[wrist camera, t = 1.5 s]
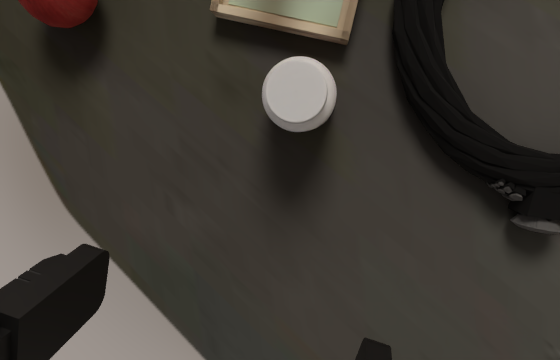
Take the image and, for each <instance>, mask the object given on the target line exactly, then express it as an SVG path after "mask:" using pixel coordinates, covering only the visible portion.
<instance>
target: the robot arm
mask: <svg viewBox="0 0 560 360" xmlns="http://www.w3.org/2000/svg"><path fill="white" fill-rule="evenodd" d="M108 265H109V252H108V251H106V250H103V249H100V248H97V247H94V246H91V245H87V244H82V245H80V246H79V247H77V248H76V249H75V250H73V251H72V252H71V253H69V254H68V255H64V254H59V255H56V256H53V257H50V258H47V259H44V260H42V261H41V262H39V263H38V264H36V265H35V266H33V267H32V268H30V270H29V271H26V272H24V273H23V274H21V275H20V276H19V277H18V279H14V280H13V281H11V282H10V283H8V284H7V285H5V286H4V287H2V288H1V289H0V360H49V359H50V358H51V357H52V356H53V355H54V354H55V353H56V352H57V351H58V350H59V349H60V348H61V347H62V346H63V345H64V344H65V343H66V342H67V341H68V340H69V339H70V338H71V337H72V336H73V335H74V334H75V333H76V332H77V331H78V330H79V329H80V328H81V327H82V326H83V325H84V324H85V323H86V322H87V321H88V320H89V319H90V318H91V317H92V316H93V315H94V314H95V313H96V311H97V310H98V309H99V307H100V305H101V303H102V301H103V298H104V295H105V289H106V281H107V273H108ZM355 360H392V355H391V347H390V346H389V345H386V344H383V343H380V342H377V341H374V340H371V339H368V338H364V339H363V341H362V343H361V346H360V348H359V351H358V354H357V356H356V359H355Z"/></svg>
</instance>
